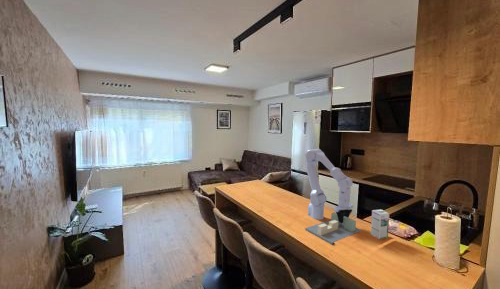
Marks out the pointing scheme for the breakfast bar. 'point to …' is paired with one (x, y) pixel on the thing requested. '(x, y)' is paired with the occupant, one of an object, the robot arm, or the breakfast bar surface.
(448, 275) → the breakfast bar surface
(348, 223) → the cross plate
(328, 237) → the slotted base
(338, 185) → the robot arm
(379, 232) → the syrup box
